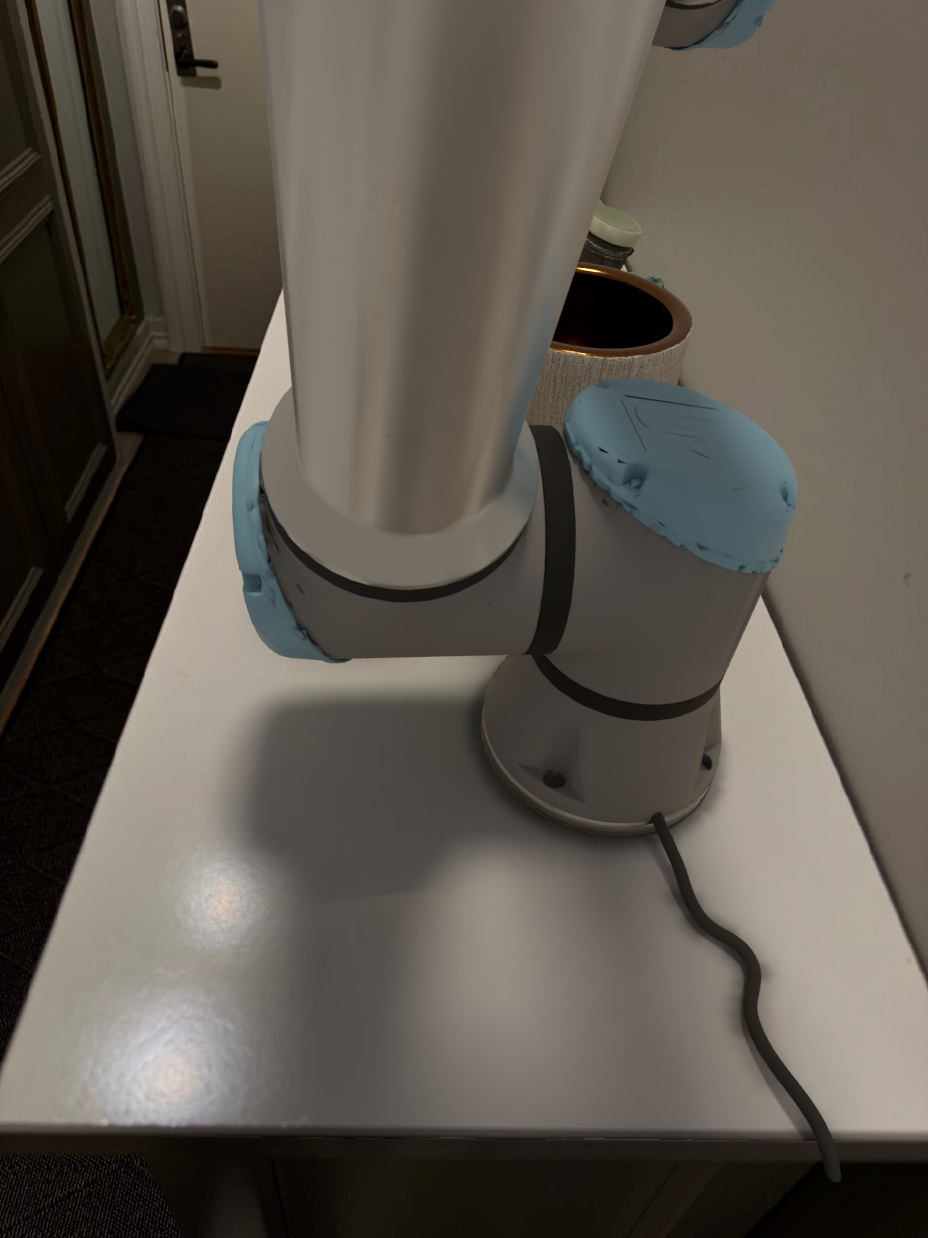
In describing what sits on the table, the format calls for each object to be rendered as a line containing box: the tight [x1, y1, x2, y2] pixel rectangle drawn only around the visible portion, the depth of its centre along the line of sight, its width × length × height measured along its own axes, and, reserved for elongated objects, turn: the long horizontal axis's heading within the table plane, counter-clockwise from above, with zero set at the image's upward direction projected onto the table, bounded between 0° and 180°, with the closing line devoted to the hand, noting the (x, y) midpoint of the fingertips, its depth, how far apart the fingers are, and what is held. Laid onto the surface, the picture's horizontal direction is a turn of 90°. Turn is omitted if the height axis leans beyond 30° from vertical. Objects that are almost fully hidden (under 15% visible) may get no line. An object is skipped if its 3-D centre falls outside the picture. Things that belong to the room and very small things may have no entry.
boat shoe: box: [578, 198, 643, 270], centre depth 113 cm, size 11×29×9 cm, turn 10°
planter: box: [525, 262, 694, 425], centre depth 73 cm, size 18×18×16 cm
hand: (374, 426), depth 70 cm, fingers closed on walnut stick, 3 cm apart
